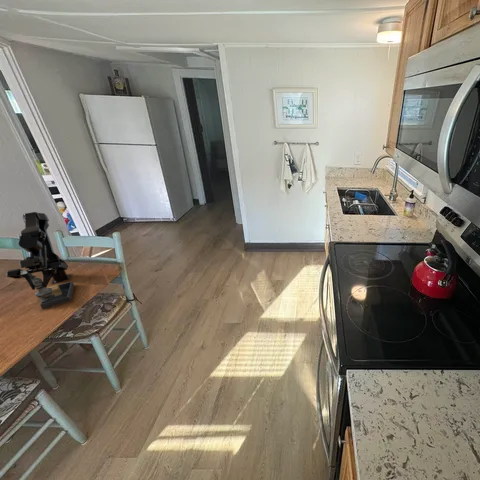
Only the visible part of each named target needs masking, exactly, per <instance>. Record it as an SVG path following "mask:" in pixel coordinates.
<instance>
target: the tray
mask: <svg viewBox="0 0 480 480" xmlns="http://www.w3.org/2000/svg"><path fill="white" fill-rule="evenodd" d="M57 285H58V286H59V288H60V289H61V292H62V294H61V295H59V296H56V297H54V298H52V299H51V300H48V301H45V302H41V301H40V304H39V306H40V307H41V309H42V310H44V309H49V308H52V307H56V306H59V305H62V304H66V303H68V302H72V298H73V293H74V288H75V284H74V282H73V281H67V282H65V283H60V284H57Z"/></svg>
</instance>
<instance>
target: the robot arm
mask: <svg viewBox="0 0 480 480" xmlns="http://www.w3.org/2000/svg"><path fill="white" fill-rule="evenodd" d="M49 219H50V218H49V217H48V215H47V214H46V213H43V212H38V211H32V212H25V213H24V214H22V220H23V223H24V228H23V229H22V230H21V231H20V235H19V236H18V237H19V239H18V246H19V247H20V248H21V249H23V250H25V251H26V252H27V253H28V254H27V255H28V256H27V257H26V258H25V259H23V260H19V261H18V264H19V266H20V267H19V268H15V269H10V270H8V271H7V272H6V277H7V278H10V279H14V280H18V279H19V280H20V279H25V280H26V281H27V283H28V284H29V286H30V288H31V289H32V290H33V291H35V290H36V288H35V287H34V286H35V285H34V284H33V282H32V280H33V279H34V277H36V275H33V274H35V273H41V274H42V282H43V286H44V287H47V286H48V284H49V283H50V281H51V280H52V281H51V282H52V283H51V284H54V285H55V284H57V283H58V284H59V283H61V282H65V281H68V280H69V278H70V275H71V274H70V273H66V272H67V270H68V268H69V266H68V263H67V262H66V261H65V260H64V259H63V258H61V257H60V256H59V255H58V254H57V253H55V252H54V247H53V245H52V241H51V239H50V236H49V233H48V231H47V230H48V228H49V226H50V223H49V222H50V220H49ZM23 268H24V269H25V270H24V269H23ZM36 278H37V277H36Z"/></svg>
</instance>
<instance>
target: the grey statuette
mask: <svg viewBox="0 0 480 480" xmlns="http://www.w3.org/2000/svg"><path fill="white" fill-rule="evenodd" d="M32 282H33V284H34V285H35V286H34V287H35V290H37V291H36V292H35V293H34V296H35V297H37V298H39V302H40V303H41V302H45V301H48V300H51V299H52V298H54V297H55V295H54V294H52V288H48V287H47V286H46V287H44V286H43V279H42V278H41V277H34V279H33V280H32Z"/></svg>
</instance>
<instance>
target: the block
mask: <svg viewBox="0 0 480 480" xmlns="http://www.w3.org/2000/svg"><path fill="white" fill-rule="evenodd" d="M58 285H59V284H54V285H52V286H49V287H47V288H52V294H54V295H55V297H56V296H59V295H61V294H62V292H61V289H60V288H59V286H58Z"/></svg>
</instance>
